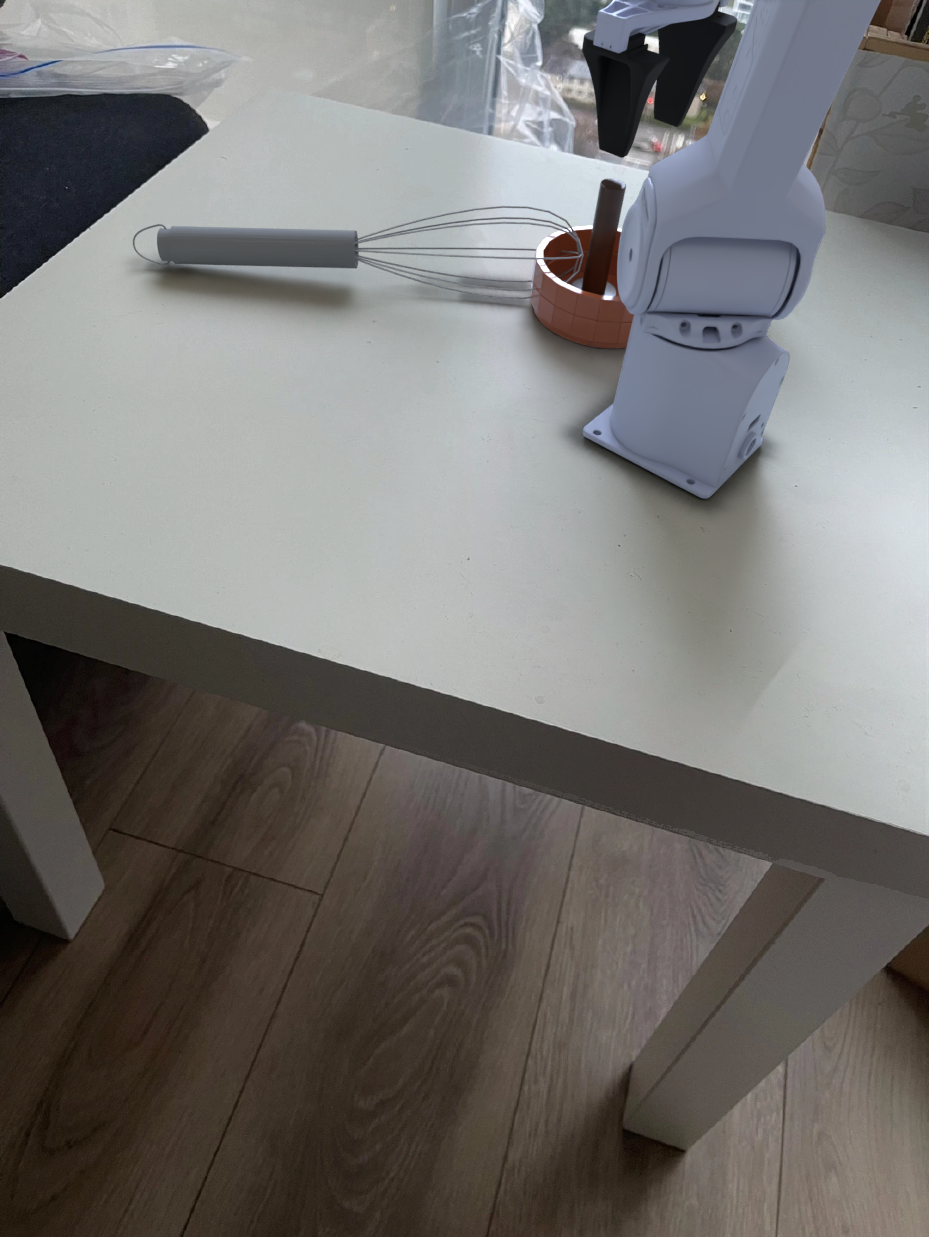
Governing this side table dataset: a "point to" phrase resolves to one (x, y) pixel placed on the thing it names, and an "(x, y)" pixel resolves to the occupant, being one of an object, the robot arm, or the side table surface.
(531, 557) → the side table surface
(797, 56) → the robot arm
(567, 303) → the bowl
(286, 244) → the kitchen whisk
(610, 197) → the coffee tamper
